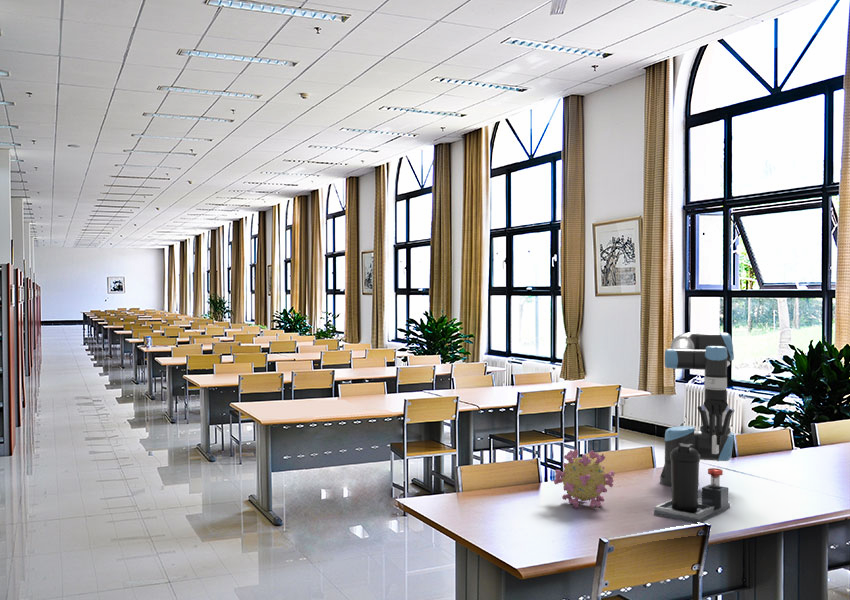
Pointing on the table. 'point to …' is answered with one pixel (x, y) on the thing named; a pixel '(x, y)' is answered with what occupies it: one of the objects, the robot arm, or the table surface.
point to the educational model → (584, 478)
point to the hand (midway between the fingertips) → (715, 453)
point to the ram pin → (715, 477)
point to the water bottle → (685, 478)
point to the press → (698, 506)
